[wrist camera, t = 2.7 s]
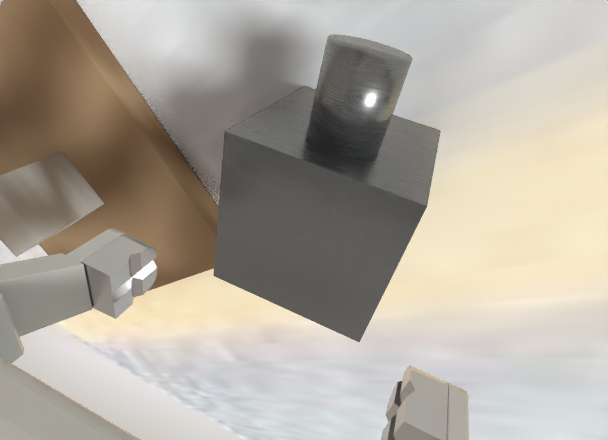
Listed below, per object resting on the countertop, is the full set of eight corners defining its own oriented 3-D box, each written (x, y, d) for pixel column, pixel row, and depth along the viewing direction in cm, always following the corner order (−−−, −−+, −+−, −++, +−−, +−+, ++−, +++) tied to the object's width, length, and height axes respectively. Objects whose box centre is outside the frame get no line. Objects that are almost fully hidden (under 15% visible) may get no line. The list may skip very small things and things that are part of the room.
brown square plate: (-43, 123, 28) (-147, 149, 23) (52, -34, 18) (-95, -45, 13) (109, 297, 33) (49, 348, 28) (246, 247, 23) (190, 312, 19)
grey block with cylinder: (282, 199, 20) (213, 275, 15) (319, 13, 15) (233, 23, 9) (389, 242, 19) (359, 342, 14) (473, 57, 14) (480, 99, 8)
